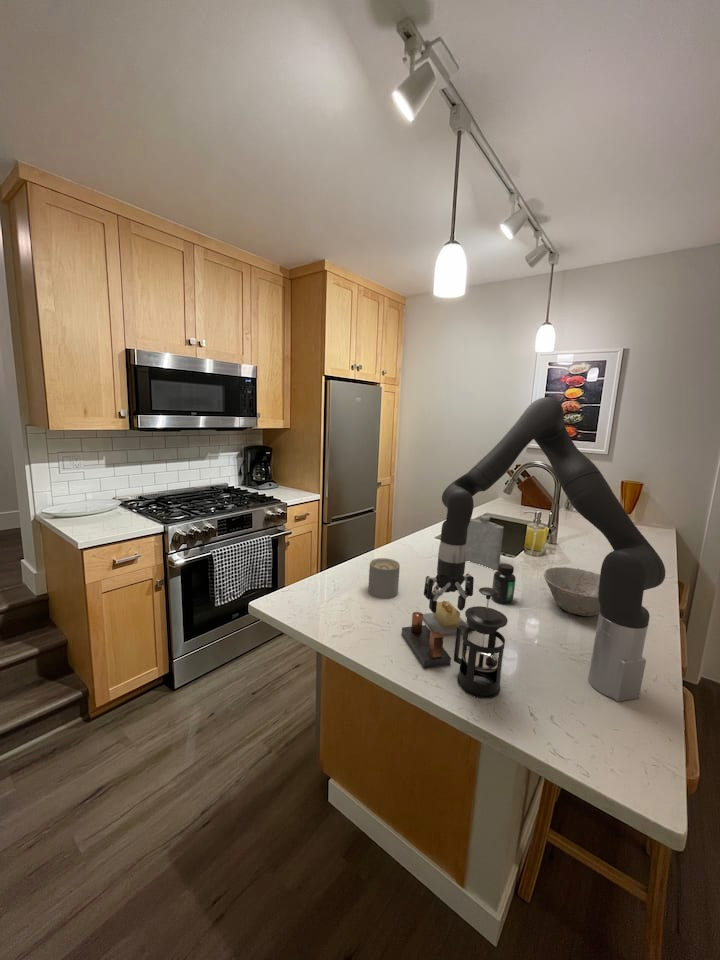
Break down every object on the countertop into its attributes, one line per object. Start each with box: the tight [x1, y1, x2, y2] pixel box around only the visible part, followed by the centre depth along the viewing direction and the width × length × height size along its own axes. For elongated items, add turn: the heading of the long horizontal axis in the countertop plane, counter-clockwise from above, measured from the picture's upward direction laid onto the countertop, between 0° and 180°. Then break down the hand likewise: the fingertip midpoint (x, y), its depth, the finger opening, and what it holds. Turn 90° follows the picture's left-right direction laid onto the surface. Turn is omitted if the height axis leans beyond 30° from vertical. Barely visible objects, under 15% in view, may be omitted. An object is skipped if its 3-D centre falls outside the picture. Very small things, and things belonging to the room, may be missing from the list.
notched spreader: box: [465, 515, 504, 571], centre depth 164 cm, size 16×4×20 cm, turn 47°
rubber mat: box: [422, 612, 474, 637], centre depth 118 cm, size 11×11×1 cm
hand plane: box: [401, 611, 452, 669], centre depth 105 cm, size 15×7×8 cm, turn 15°
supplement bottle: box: [490, 562, 517, 605], centre depth 134 cm, size 7×7×12 cm
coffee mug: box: [367, 557, 401, 600], centre depth 137 cm, size 13×10×10 cm
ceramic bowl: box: [543, 566, 600, 617], centre depth 130 cm, size 22×23×10 cm
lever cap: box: [434, 600, 461, 629], centre depth 117 cm, size 7×4×6 cm, turn 15°
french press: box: [453, 586, 508, 699], centre depth 91 cm, size 12×9×23 cm
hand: (446, 610), depth 117 cm, fingers open, 8 cm apart
